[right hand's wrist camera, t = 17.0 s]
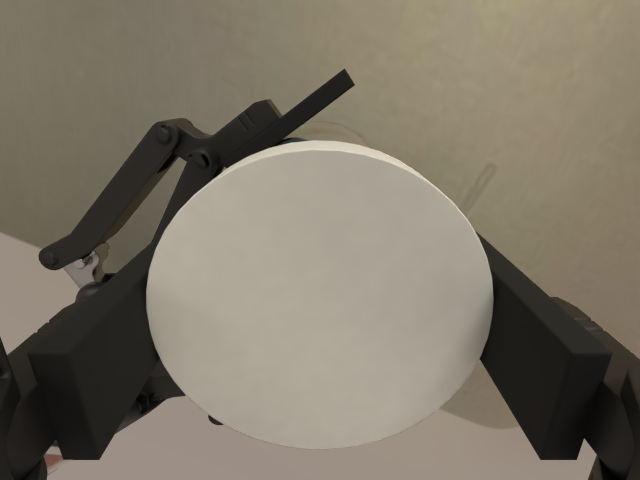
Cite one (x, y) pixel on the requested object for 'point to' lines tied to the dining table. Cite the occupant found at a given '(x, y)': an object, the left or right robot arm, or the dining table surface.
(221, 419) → the lid
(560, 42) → the dining table surface
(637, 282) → the dining table surface
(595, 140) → the dining table surface
